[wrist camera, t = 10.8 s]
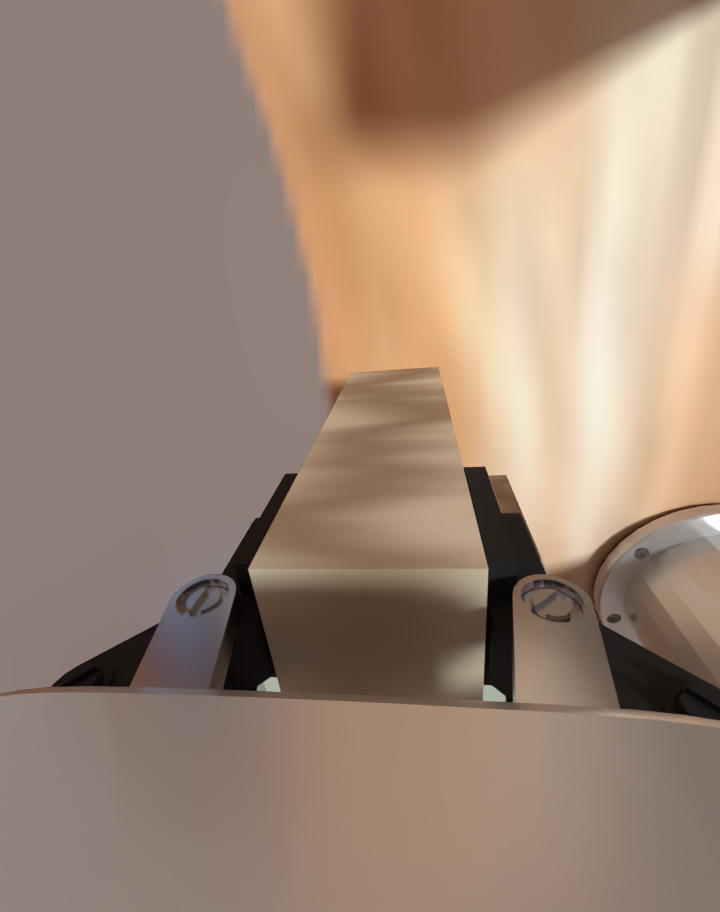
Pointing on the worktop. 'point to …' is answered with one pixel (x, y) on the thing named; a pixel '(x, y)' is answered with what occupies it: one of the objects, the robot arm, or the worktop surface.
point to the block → (378, 552)
